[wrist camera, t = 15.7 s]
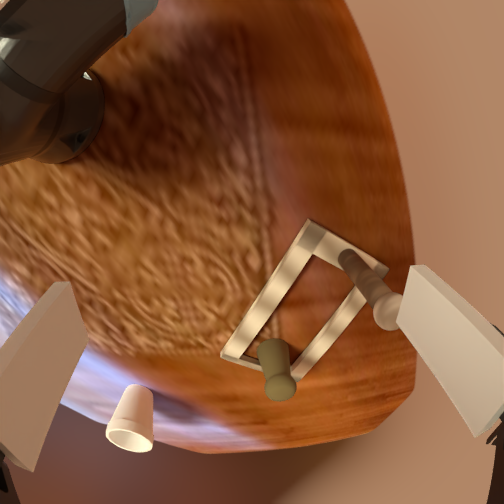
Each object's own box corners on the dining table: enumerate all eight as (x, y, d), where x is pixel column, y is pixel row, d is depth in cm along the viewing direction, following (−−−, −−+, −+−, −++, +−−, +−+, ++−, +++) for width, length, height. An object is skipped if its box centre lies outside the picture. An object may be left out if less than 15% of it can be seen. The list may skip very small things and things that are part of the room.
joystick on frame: (308, 217, 42) (359, 276, 26) (386, 264, 47) (447, 327, 30) (220, 352, 51) (221, 437, 34) (296, 376, 56) (317, 452, 39)
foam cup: (132, 373, 53) (119, 423, 41) (168, 395, 56) (161, 444, 44) (112, 390, 55) (98, 436, 43) (145, 410, 58) (137, 455, 46)
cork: (251, 358, 53) (257, 404, 43) (263, 335, 51) (272, 381, 41) (281, 364, 54) (291, 408, 44) (294, 342, 52) (307, 385, 42)
